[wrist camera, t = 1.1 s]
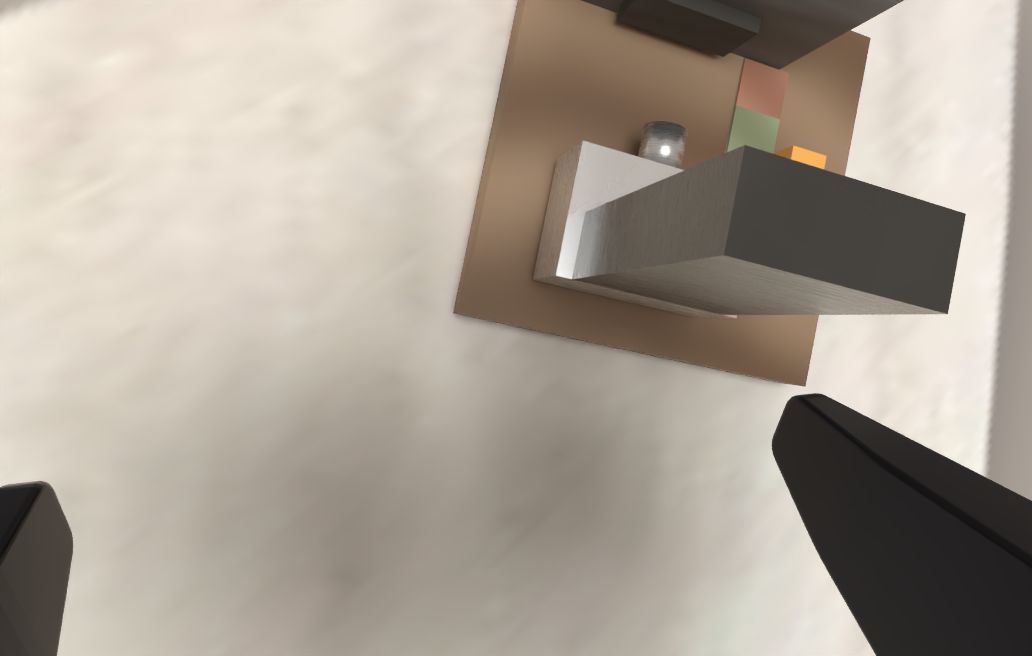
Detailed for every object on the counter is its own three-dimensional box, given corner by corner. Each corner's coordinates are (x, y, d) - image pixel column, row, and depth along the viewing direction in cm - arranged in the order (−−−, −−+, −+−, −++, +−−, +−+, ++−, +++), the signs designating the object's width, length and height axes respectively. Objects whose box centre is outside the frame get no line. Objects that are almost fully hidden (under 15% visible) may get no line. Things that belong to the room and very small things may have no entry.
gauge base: (779, 382, 26) (947, 407, 19) (453, 312, 23) (506, 311, 16) (841, 52, 27) (1028, -45, 20) (530, -62, 24) (617, -229, 16)
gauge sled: (732, 326, 24) (1021, 333, 14) (532, 280, 22) (698, 248, 12) (761, 172, 24) (1068, 69, 14) (565, 114, 22) (757, -55, 12)
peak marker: (761, 203, 24) (820, 187, 21) (731, 194, 23) (787, 177, 21) (766, 175, 24) (826, 155, 21) (737, 166, 24) (793, 145, 21)
